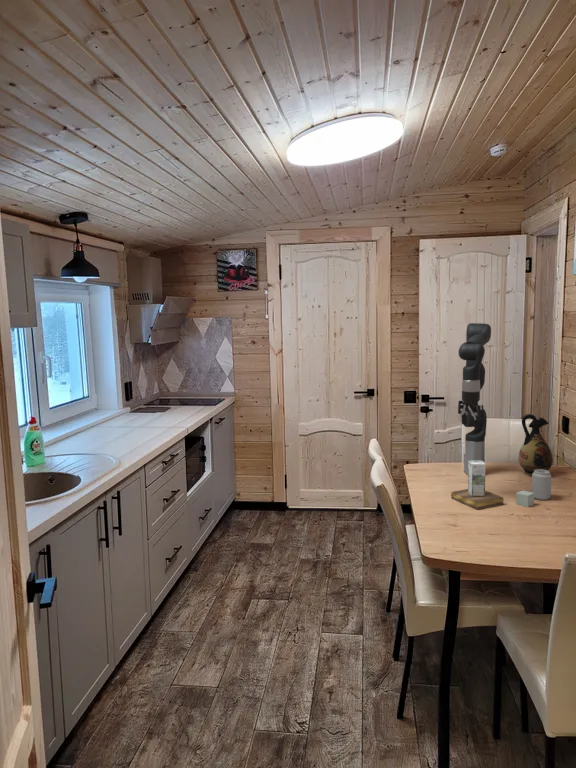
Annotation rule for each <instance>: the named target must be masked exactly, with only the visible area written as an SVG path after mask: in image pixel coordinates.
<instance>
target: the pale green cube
mask: <svg viewBox="0 0 576 768" xmlns="http://www.w3.org/2000/svg"><path fill="white" fill-rule="evenodd" d="M515 495H516V499H515V501H516V505H517V506H518V505H519V506H522V507H525V508H529V507H531V506H533V505H535V498H534V493H532V491H527V490H524V489H523V490H521V491H517V492H516V494H515Z"/></svg>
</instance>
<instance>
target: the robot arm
mask: <svg viewBox="0 0 576 768" xmlns="http://www.w3.org/2000/svg"><path fill="white" fill-rule="evenodd" d="M465 333H466V335H465V336H466V337H465V338H466V339H465V342H463V343H462V344H461V345H460V346H459V349H458V357H459V358H460V359H461V360H462V361H465V365H464V367H463V368H462V383H461V400H458V406H457V407H458V408H457V414H458V415H460V416H461V417H460V421H461V425H463V426H464V427H466V428H473V430H471V431H469V432H467V433H466V434H465V436H464V437H465V438H464V439H465V441H464V442H465V445H464V447H465V449H464V452H465V453H464V454H463V472H464V474H465V475H468V461H480V460H481V461H483V462H484V463H485V462H486V461H485V460H486V459H485V457H486V454H485V453H486V435H487V420H488V419H487V418H488V417H487V413H486V410H485V409H484V405H483V404H480V405H479V401H480V399H481V390H482V388H483V387H484V385H485V383H486V368H485V366H484V364H483V363H482V362H483V359H484V356H485V352H486V350H485V345H486V344H487V343H489V342H490V340H491V337H492V327H491V325H490V324H489V323H481V322H479V323H478V322H477V323H473V322H472V323H471V322H469V323H468V324H467V326H466V332H465ZM485 464H486V463H485Z"/></svg>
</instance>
